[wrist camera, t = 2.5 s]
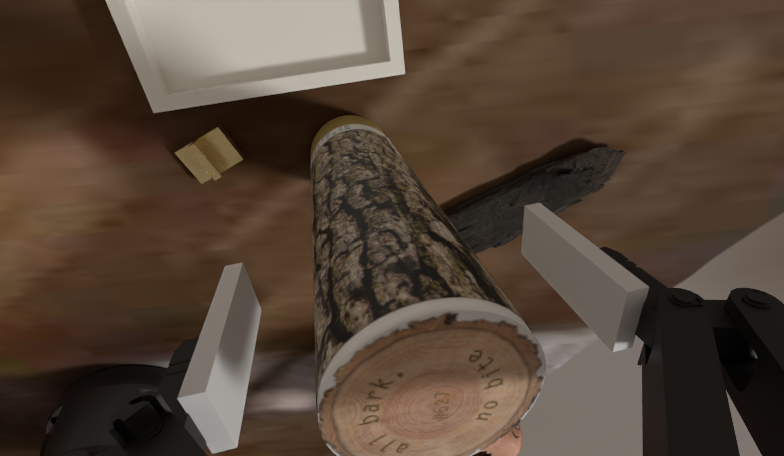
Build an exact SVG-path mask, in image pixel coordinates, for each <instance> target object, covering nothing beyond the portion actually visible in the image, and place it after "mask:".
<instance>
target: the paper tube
mask: <svg viewBox="0 0 784 456" xmlns="http://www.w3.org/2000/svg"><path fill="white" fill-rule="evenodd" d="M311 205H312V245H313V285H314V326H315V366H316V403H317V411H318V425H319V429H320V433H321V435H322V438H323V440H324V441H325V443H326V445H327V446H328V447H329V448H330V449H331V451H332V452H333V453H335V454H336V455H337V456H472V455H474V454H476V453H478V452H480V451H482V450H484V449H485V448H487V447H489V446H490V445H492V444H493V443H495V442H497V441H498V440H499V439H501V438H502V437H503V436H505V435H506V434H507V433H508V432H509V431H511V430H512V429H513V428H514V427H515V426H516V425H517V424H518V423H519V422H520V421H521V420H522V419H523V418H524V417H525V415H526V414H527V413H528V412H529V410H530V409H531V408H532V406H533V404H534V403H535V401H536V399H537V397H538V395H539V393H540V391H541V388H542V386H543V382H544V378H545V371H546V363H545V356H544V352H543V349H542V347H541V345H540V343H539V341H538V340H537V338H536V337H535V336H534V335H533V332H532V331H531V329H530V327H529V326H528V324H527V323H526V322H525V320H524V319H523V318H522V316H521V315H520V314H519V312H518V311H517V310H516V308H515V307H514V306H513V304H512V303H511V302H510V300H509V299H508V298H507V296H506V295H505V294H504V292H503V291H502V290H501V288H500V287H499V286H498V284H497V283H496V282H495V280H494V279H493V278H492V276H491V275H490V274H489V272H488V271H487V270H486V268H485V267H484V266H483V264H482V263H481V262H480V260H479V259H478V258H477V256H476V255H475V254H474V252H473V251H472V250H471V248H470V247H469V246H468V244H467V243H466V242H465V240H464V239H463V238H462V236H461V235H460V234H459V232H458V231H457V230H456V228H455V227H454V226H453V224H452V223H451V222H450V220H449V219H448V218H447V216H446V215H445V214H444V212H443V211H442V210H441V208H440V207H439V206H438V204H437V203H436V202H435V200H434V199H433V198H432V196H431V195H430V194H429V192H428V191H427V190H426V188H425V187H424V186H423V184H422V183H421V182H420V180H419V179H418V178H417V176H416V175H415V174H414V172H413V171H412V170H411V168H410V167H409V165H408V164H407V163H406V161H405V160H404V159H403V157H402V156H401V155H400V153H399V152H398V151H397V149H396V148H395V147H394V145H393V144H392V143H391V141H390V140H389V139H388V138H387V137H386V135H385V134H384V133H383V131H382V130H381V129H380V128H379V127H378V126H377V125H376V124H375V123H374V122H372V121H370V120H368V119H366V118H364V117H360V116H355V115H345V116H340V117H337V118H334V119H332V120H330V121H329V122H327V123H326V124H325V125H323V126H322V127H321V128H320V130H319V131H318V132H317V134H316V136H315V137H314V140H313V142H312V146H311Z"/></svg>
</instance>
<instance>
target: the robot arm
mask: <svg viewBox="0 0 784 456" xmlns="http://www.w3.org/2000/svg"><path fill="white" fill-rule="evenodd" d="M521 254H522V255H523V256H524V257H525V258H526V259H527V260H528V262H529V263H530V264H531V265H532V266H533V267H534V268H535V269H536V270H537V271H538V272H539V273H540V274H541V276H542V277H543V278H544V279H545V280H546V281H547V282H548V283H549V284H550V285H551V286H552V287H553V288H554V290H555V291H556V292H557V293H558V294H559V295H560V296H561V297H562V298H563V299H564V300H565V301H566V302H567V304H568V305H569V306H570V307H571V308H572V309H573V310H574V311H575V312H576V313H577V314H578V315H579V316H580V318H581V319H582V320H583V321H584V322H585V323H586V324H587V325H588V326H589V327H590V328H591V329H592V330H593V332H594V333H595V334H596V335H597V336H598V337H599V338H600V339H601V340H602V341H603V342H604V343H605V344H606V346H607V347H608V348H609V349H610V350H611V351H612V352H615V351H619V350H623V349H627V348H631V347H632V346H633V342H634V339H635V335H637V336H638V337H639V338H640V339H641V340H642V341H643V342H644V345H643V348H642V351H641V354H640V358H639V361H638V365H641V364H642V406H643V407H642V408H643V409H642V410H643V411H642V414H643V456H740V455H739V450H738V445H737V440H736V436H735V431H734V426H733V422H732V417H731V412H730V408H729V403H728V398H727V394H726V390H727V392H728V394H729V396H730V398H731V399H732V401H733V403H734V405H735V407H736V409H737V411H738V412H739V414H740V416H741V418H742V419H743V421H744V423H745V425H746V427H747V429H748V431H749V432H750V434H751V436H752V438H753V440H754V441H755V443H756V445H757V447H758V449H759V451H760V452H761V454H762V456H784V304H783V303H782V302H781V301H779V300H778V299H776V298H775V297H773V296H772V295H770V294H767V293H766V292H763V291H760V290H756V289H750V288H736V289H734V290H732V291H731V293H730V294H729V297H728V299H727V300H704V299H702V298H701V297H700V296H699V295H697V294H695V293H693V292H691V291H688V290H684V289H681V288H667V287H666V286H664V285H663V284H662V283H660V282H659V281H658V280H656V279H655V278H654V277H652V276H651V275H649V274H648V273H647V272H645V271H644V270H643V269H641V268H640V267H639V268H638V266H637V265H636V264H634V263H633V262H632V261H631V262H630V261H629V259H628V258H626V257H625V256H623V255H622V254H621V253H619V252H617V251H614V250H612V249H610V248H607V247H603V248H598V247H597V246H595V245H594V244H593V243H591V242H590V241H589V240H587V239H586V238H585V237H584V236H582V235H581V234H580V233H578V232H577V231H576V230H574V229H573V228H572V227H571V226H569V225H568V224H567V223H565V222H564V221H563V220H561V219H560V218H559V217H558V216H556V215H555V214H554V213H552V212H551V211H550V210H548V209H547V208H546V207H544V206H543V205H542V204H541V203H535V204H531V205H526V206H524V220H523V236H522V251H521ZM260 315H261V308H260V305H259V303H258V300H257V297H256V295H255V292H254V290H253V287H252V285H251V282H250V279H249V277H248V274H247V272H246V269H245V267H244V264H243V263H238V264H233V265H228V266H225V267H224V270H223V273H222V276H221V278H220V281H219V284H218V287H217V290H216V292H215V295H214V298H213V301H212V303H211V306H210V309H209V312H208V314H207V317H206V320H205V323H204V325H203V328H202V331H201V334H200V337H198V338H193V339H188V340H184V341H183V343H182V344H181V345H180V346H179V347H178V348H177V350H176V351H175V352H174V354H173V356H172V358H171V361H170V363H169V367H168V368H167V369H162V368H157V367H149V366H122V367H115V368H109V369H105V370H101V371H98V372H95V373H92V374H90V375H88V376H86V377H84V378H82V379H80V380H79V381H77V382H76V383H74V384H73V385H72V386H71V387H70V388H69V389H68V390H67V391H66V392H65V393H64V395H63V396H62V398H61V399H60V401H59V402H58V404H57V405H56V407H55V408H54V410H53V411H52V413H51V415H50V417H49V420H48V423H47V426H46V435H45V438H44V441H43V444H42V448H41V452H40V456H207V455H206V453H205V452H204V449H205V445H206V444H207V446H208V448H209V449H210V451H211V452H212V454H214V453H218V452H221V451H225V450H229V449H233V448H237V446H238V440H239V434H240V429H241V423H242V417H243V412H244V406H245V400H246V395H247V389H248V383H249V378H250V372H251V366H252V360H253V355H254V349H255V343H256V338H257V332H258V326H259V321H260Z"/></svg>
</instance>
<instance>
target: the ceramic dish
mask: <svg viewBox="0 0 784 456" xmlns="http://www.w3.org/2000/svg"><path fill="white" fill-rule="evenodd" d="M105 1H106V3H107V5H108V8H109V10H110V12H111V15H112V17H113V19H114V22H115V24H116V26H117V29H118V31H119V33H120V36H121V38H122V40H123V43H124V45H125V47H126V50H127V52H128V54H129V57H130V59H131V61H132V64H133V66H134V68H135V71H136V73H137V75H138V78H139V80H140V82H141V85H142V87H143V89H144V92H145V94H146V97H147V99H148V101H149V104H150V106H151V108H152V111H153V113H158V112H165V111H171V110H177V109H184V108H190V107H197V106H203V105H209V104H216V103H222V102H228V101H235V100H241V99H248V98H254V97H260V96H267V95H273V94H280V93H286V92H292V91H299V90H305V89H312V88H318V87H324V86H331V85H337V84H343V83H350V82H356V81H363V80H369V79H375V78H382V77H388V76H395V75H401V74H405V67H404V56H403V46H402V35H401V25H400V14H399V4H398V0H105Z"/></svg>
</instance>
